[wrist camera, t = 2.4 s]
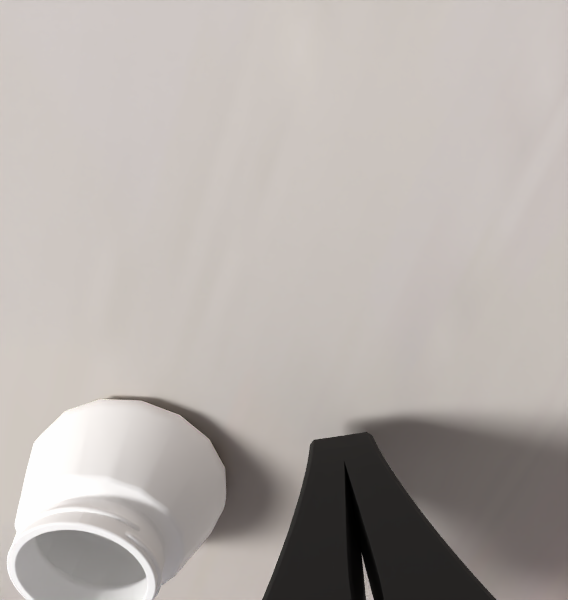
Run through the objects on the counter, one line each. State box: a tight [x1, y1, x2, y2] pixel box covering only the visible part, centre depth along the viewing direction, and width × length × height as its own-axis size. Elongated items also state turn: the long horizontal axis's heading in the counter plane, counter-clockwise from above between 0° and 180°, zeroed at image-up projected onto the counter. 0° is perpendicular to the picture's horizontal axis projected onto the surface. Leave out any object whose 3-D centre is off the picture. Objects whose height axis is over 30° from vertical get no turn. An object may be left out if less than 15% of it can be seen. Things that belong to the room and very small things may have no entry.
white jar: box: [7, 399, 226, 600], centre depth 9 cm, size 5×3×5 cm
